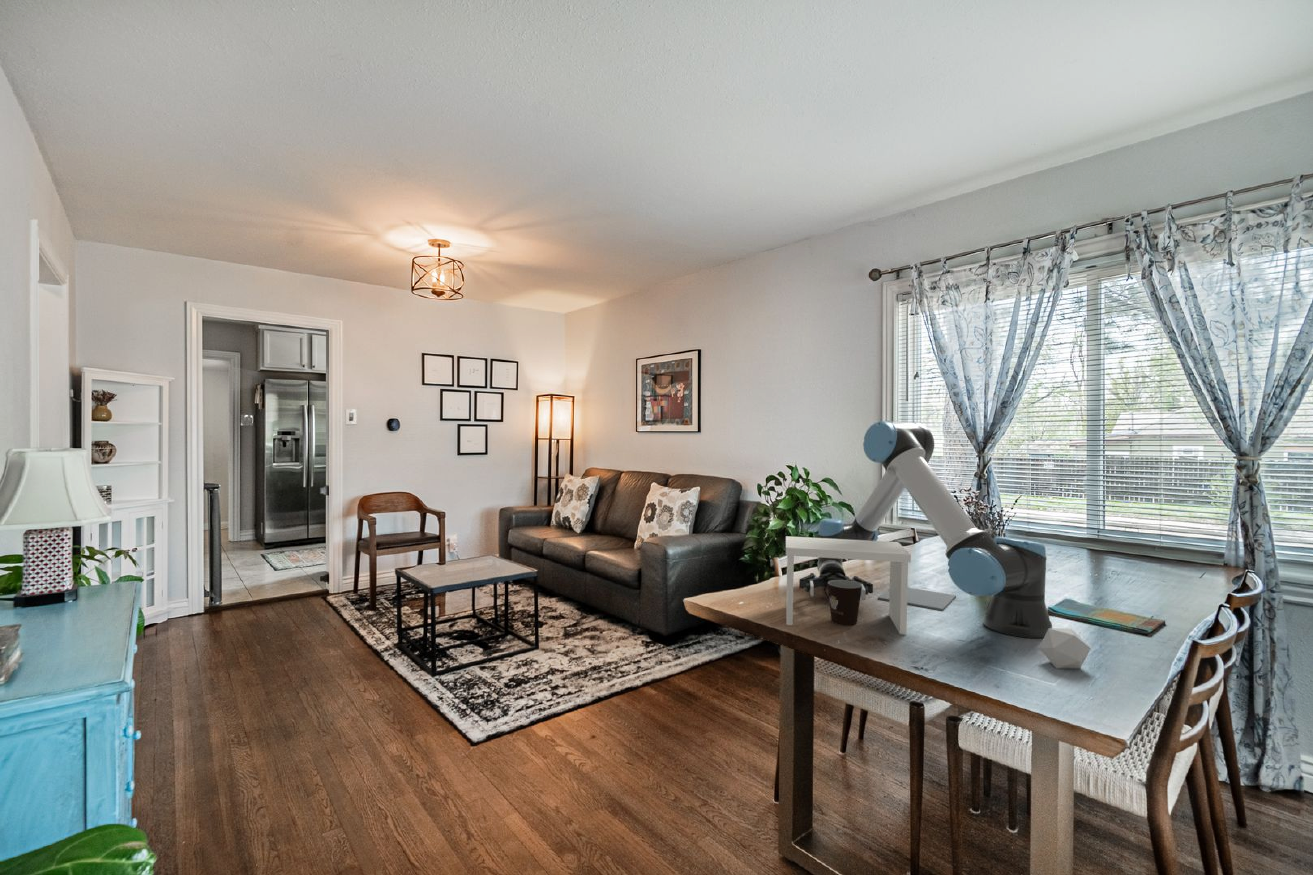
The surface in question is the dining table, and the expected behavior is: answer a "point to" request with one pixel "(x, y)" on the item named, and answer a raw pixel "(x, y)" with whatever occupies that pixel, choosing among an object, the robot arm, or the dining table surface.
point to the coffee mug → (844, 601)
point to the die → (1064, 648)
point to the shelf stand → (859, 552)
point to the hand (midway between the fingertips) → (837, 593)
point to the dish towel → (1105, 617)
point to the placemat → (924, 598)
